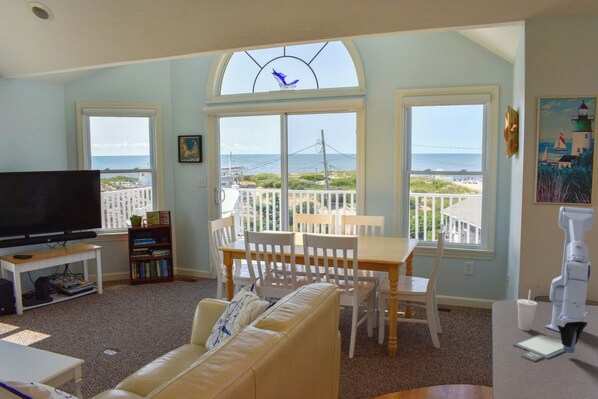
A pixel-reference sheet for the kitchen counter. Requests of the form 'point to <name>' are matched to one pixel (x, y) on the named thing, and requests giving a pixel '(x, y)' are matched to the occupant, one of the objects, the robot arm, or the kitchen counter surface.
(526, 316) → the smoothie
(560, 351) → the clipboard
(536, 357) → the word card
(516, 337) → the kitchen counter surface
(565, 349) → the blue bottle
